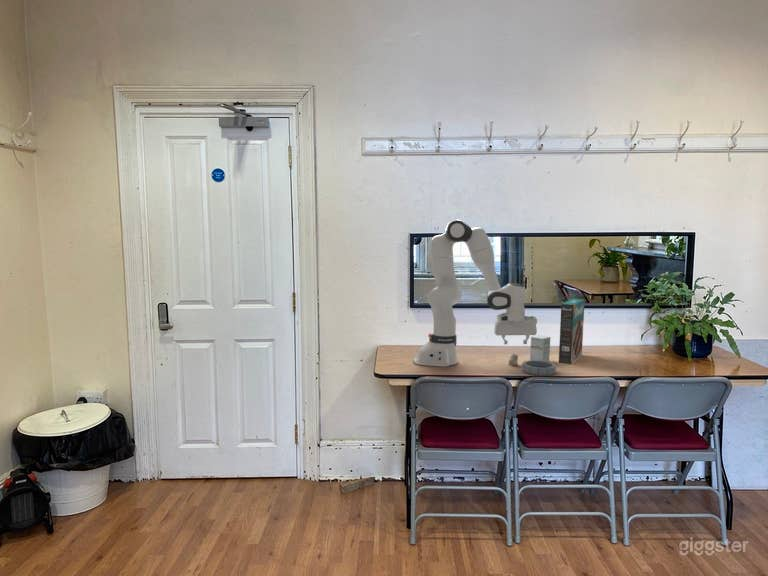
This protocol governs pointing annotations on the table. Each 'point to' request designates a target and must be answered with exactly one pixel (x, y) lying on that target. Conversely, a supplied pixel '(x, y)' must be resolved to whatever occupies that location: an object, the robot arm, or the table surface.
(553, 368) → the round dish
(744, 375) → the table surface
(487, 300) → the robot arm
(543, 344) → the supplement box
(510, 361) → the wooden bead
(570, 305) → the cake mix box
